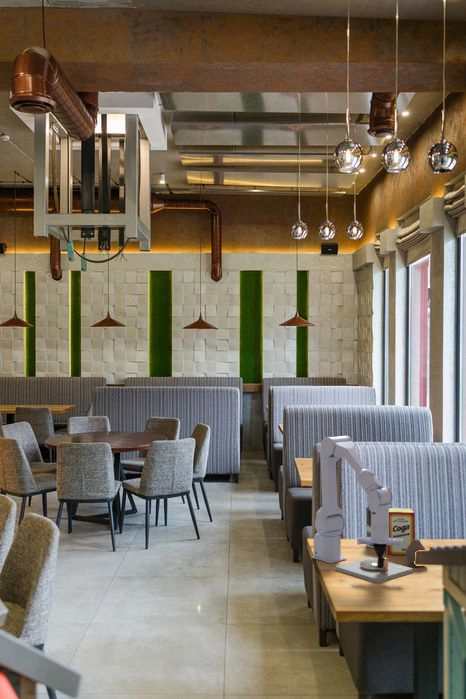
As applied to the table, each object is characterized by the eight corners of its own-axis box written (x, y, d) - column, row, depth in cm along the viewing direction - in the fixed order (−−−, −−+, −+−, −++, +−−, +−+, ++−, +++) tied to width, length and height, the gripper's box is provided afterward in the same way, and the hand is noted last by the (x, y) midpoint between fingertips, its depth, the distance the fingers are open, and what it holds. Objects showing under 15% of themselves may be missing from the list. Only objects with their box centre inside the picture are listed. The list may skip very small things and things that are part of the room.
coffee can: (395, 549, 256) (394, 511, 257) (366, 548, 258) (366, 510, 258) (393, 542, 267) (392, 506, 267) (366, 541, 268) (365, 505, 269)
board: (335, 570, 232) (335, 566, 232) (371, 560, 243) (371, 556, 243) (377, 583, 217) (377, 578, 217) (413, 572, 228) (413, 568, 228)
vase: (427, 569, 232) (427, 542, 232) (406, 568, 233) (406, 541, 233) (426, 563, 239) (425, 537, 239) (405, 562, 240) (405, 537, 240)
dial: (355, 564, 233) (354, 551, 233) (378, 561, 236) (377, 548, 236) (374, 574, 221) (374, 560, 221) (398, 571, 225) (398, 557, 225)
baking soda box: (412, 551, 254) (412, 507, 254) (415, 556, 247) (414, 511, 248) (386, 550, 255) (385, 507, 255) (388, 555, 248) (387, 511, 249)
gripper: (357, 527, 222) (357, 569, 221) (403, 528, 219) (404, 572, 219) (357, 522, 229) (357, 563, 228) (402, 523, 226) (402, 565, 226)
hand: (380, 567), depth 224 cm, fingers closed, pressing on dial
